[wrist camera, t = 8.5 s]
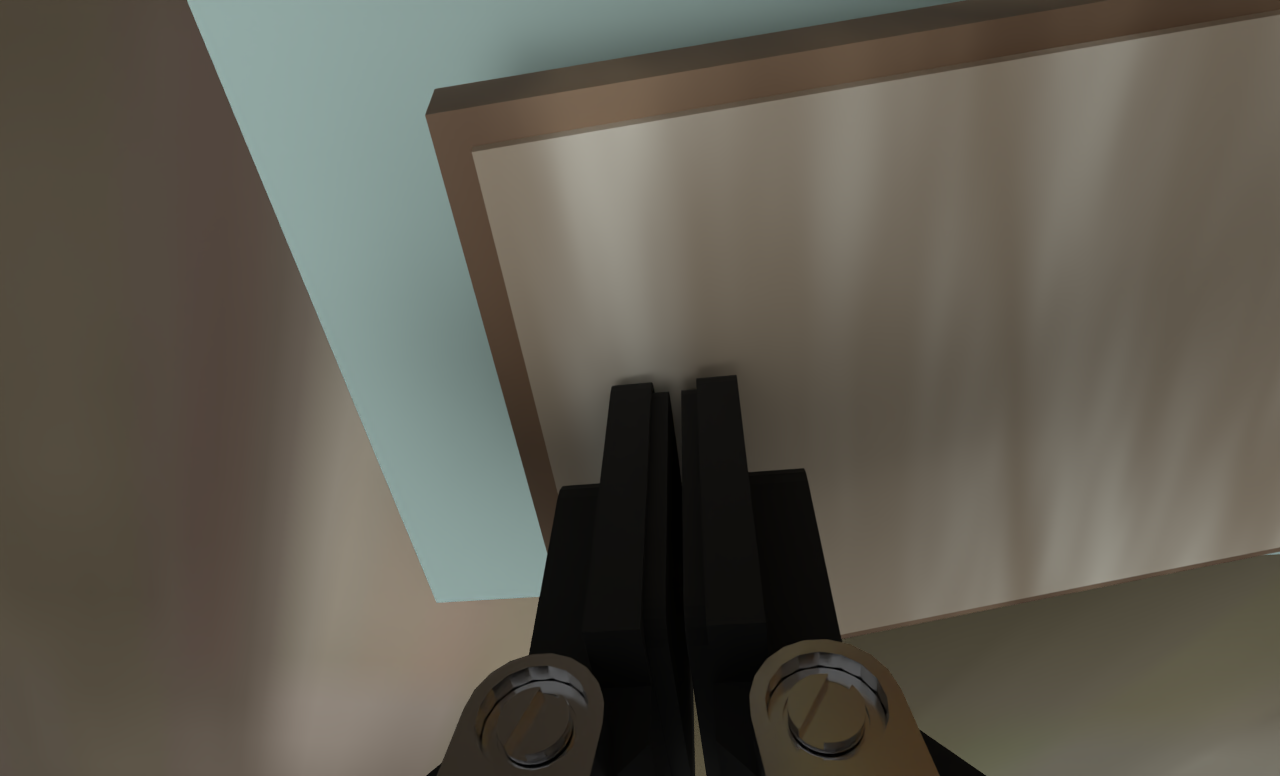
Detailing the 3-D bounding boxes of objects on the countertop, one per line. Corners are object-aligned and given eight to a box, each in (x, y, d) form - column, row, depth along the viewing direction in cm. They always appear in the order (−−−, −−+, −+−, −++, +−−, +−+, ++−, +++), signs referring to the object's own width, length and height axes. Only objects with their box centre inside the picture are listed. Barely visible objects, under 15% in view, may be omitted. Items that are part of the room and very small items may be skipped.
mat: (1803, -336, 9) (1835, -339, 9) (1338, 539, 17) (1348, 549, 16) (166, -78, 11) (155, -76, 11) (439, 592, 19) (436, 602, 18)
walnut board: (1694, -94, 8) (423, 119, 8) (1346, 548, 14) (586, 699, 14) (1553, -98, 10) (434, 89, 9) (1282, 497, 15) (580, 634, 15)
